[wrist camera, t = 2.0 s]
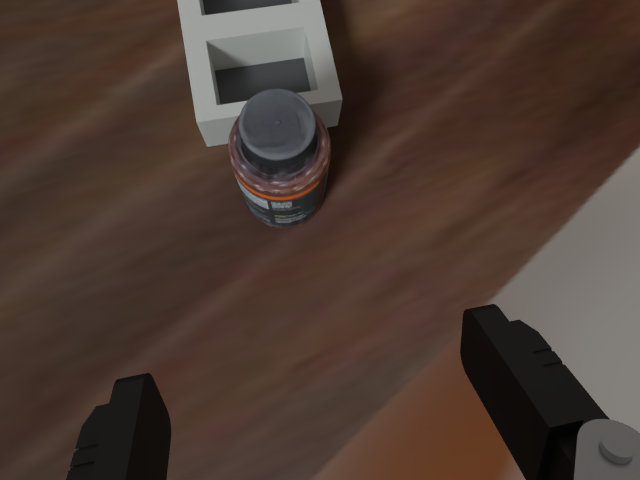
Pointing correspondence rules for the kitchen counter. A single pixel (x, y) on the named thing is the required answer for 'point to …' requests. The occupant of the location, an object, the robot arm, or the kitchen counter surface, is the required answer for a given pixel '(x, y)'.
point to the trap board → (256, 58)
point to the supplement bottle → (280, 157)
